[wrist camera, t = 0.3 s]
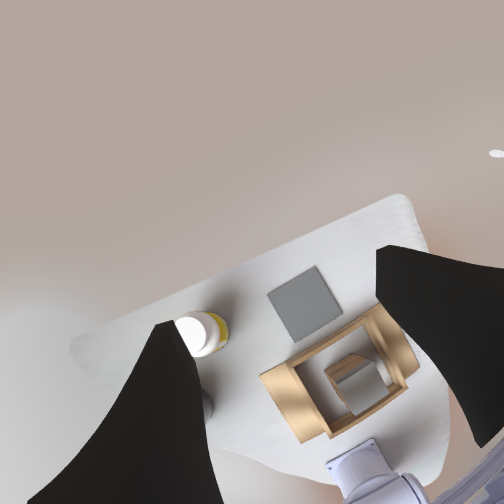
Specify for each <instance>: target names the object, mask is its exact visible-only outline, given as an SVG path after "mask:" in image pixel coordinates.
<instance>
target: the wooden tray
mask: <svg viewBox="0 0 504 504" xmlns="http://www.w3.org/2000/svg"><path fill="white" fill-rule="evenodd" d="M361 325H363V326H364V328H365V330H366V332H367V334H368V335H369V337H370V339H371V341H372V343H373V345H374V346H375V348H376V350H377V352H378V354H379V356H380V358H381V359H382V361H383V363H384V365H385V367H386V369H387V371H388V373H389V375H390V377H391V379H392V381H393V384H391V385H390V386H389V387H387V389H388V391H389V394H388V395H386V396H385V397H383V398H382V399H380V400H379V401H378V402H376V403H375V404H373V405H372V406H370V407H369V408H367V409H366V410H364V411H362V412H361V413H359V414H358V415H356V416H355V415H354V414H353V413H352V412H350V413H348V414H346V415H345V416H343V417H341V418H340V419H338V420H336V421H335V422H333V423H331V424H329V425H328V424H327V422H326V421H325V419H324V417H323V416H322V414H321V412H320V411H319V409H318V408H317V406H316V404H315V403H314V401H313V399H312V397H311V396H310V394H309V392H308V391H307V389H306V387H305V386H304V384H303V382H302V381H301V379H300V377H299V376H298V374H297V372H296V370H295V369H294V367H295V366H296V365H298V364H300V363H302V362H303V361H305V360H307V359H309V358H310V357H312V356H314V355H315V354H317V353H319V352H320V351H322V350H324V349H325V348H327V347H329V346H330V345H332V344H333V343H335V342H337V341H338V340H340V339H341V338H343V337H344V336H346V335H347V334H349V333H351V332H352V331H354V330H355V329H357V328H358V327H359V326H361ZM419 368H420V366H419V364H418V362H417V360H416V358H415V356H414V354H413V352H412V350H411V348H410V346H409V344H408V342H407V340H406V338H405V336H404V334H403V332H402V330H401V328H400V326H399V325H398V324H397V323H396V322H395V321H394V319H393V318H392V317H391V316H390V315H389V314H388V312H387V311H386V310H385V309H384V307H383V306H382V304H381V303H380V302H379V303H378V304H377V305H375V306H374V307H372V308H371V309H370V310H368V311H367V312H365V313H364V314H362V315H361V316H359V317H358V318H356V319H355V320H353V321H352V322H350V323H349V324H347V325H346V326H344V327H343V328H341V329H340V330H338V331H336V332H335V333H333V334H332V335H330V336H329V337H327V338H325V339H324V340H322V341H320V342H319V343H317V344H315V345H314V346H312V347H310V348H309V349H307V350H305V351H304V352H302V353H300V354H298V355H297V356H295V357H293V358H291V359H290V360H288V361H286V362H284V363H282V364H280V365H279V366H277V367H275V368H273V369H271V370H269V371H267V372H265V373H263V374H262V375H260V376H259V377H260V379H261V381H262V382H263V384H264V386H265V387H266V389H267V391H268V392H269V394H270V396H271V397H272V399H273V401H274V402H275V404H276V405H277V407H278V409H279V410H280V412H281V414H282V415H283V417H284V418H285V420H286V421H287V423H288V425H289V426H290V428H291V429H292V431H293V432H294V434H295V436H296V437H297V439H298V440H299V442H300V443H301V444H302V443H304V442H306V441H308V440H310V439H312V438H314V437H316V436H318V435H320V434H322V433H324V432H325V431H326V433H327V435H328V436H329V438H330V439H332V438H334V437H336V436H337V435H339V434H341V433H343V432H344V431H346V430H348V429H350V428H351V427H353V426H354V425H356V424H358V423H359V422H361V421H363V420H364V419H366V418H367V417H369V416H370V415H372V414H373V413H375V412H376V411H378V410H379V409H381V408H382V407H384V406H385V405H387V404H388V403H389V402H391V401H392V400H394V399H395V398H396V397H398V396H399V395H400V394H402V393H403V392H404V391H406V390H407V389H408V386H407V384H406V382H405V379H406V378H408V377H409V376H410V375H411V374H413V373H414V372H415V371H416V370H418V369H419Z"/></svg>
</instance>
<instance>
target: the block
mask: <svg viewBox="0 0 504 504" xmlns="http://www.w3.org/2000/svg"><path fill="white" fill-rule="evenodd" d="M324 372H325V374H326V375H327V377H328V379H329V381H330V382H331V384H332V386H333V388H334V389H335V391H336V393H337V394H338V396H339V397H340V399H341V400H342V401H343V402H344V403H345V405H346V406H347V407H348V408H349V409H350V411H351V412H352V413H353V414H354V415H355V416H356V415H358V414H359V413H361V412H362V411H364V410H366V409H367V408H369V407H370V406H372V405H373V404H375V403H376V402H378V401H379V400H380V399H382V398H383V397H385V396H386V395H388V394H389V391H388V389H387V387H386V385H385V383H384V381H383V379H382V377H381V375H380V374H379V372H378V370H377V368H376V366H375V364H374V362H373V361H370V360H368V359H365V358H363V357H360V356H358V355H355V354H353V353H351V354H350V355H348V356H347V357H345V358H344V359H342V360H340V361H339V362H337V363H336V364H334V365H332V366H331V367H329V368H327V369H326V370H324Z"/></svg>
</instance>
